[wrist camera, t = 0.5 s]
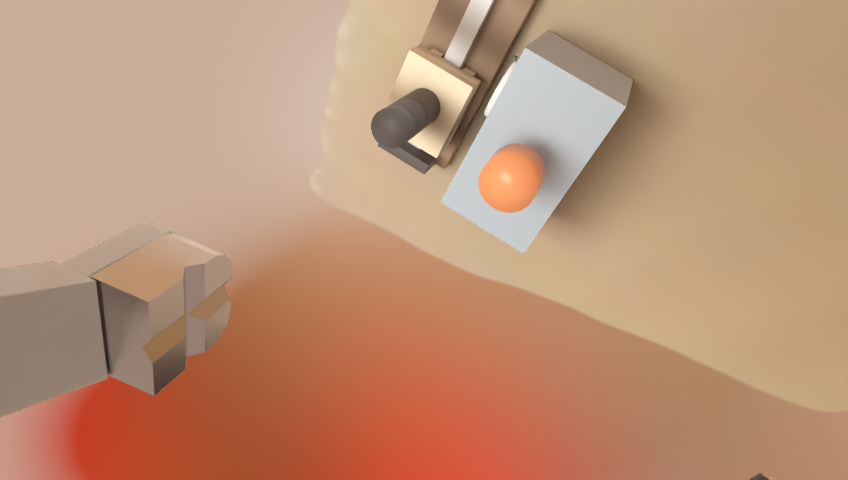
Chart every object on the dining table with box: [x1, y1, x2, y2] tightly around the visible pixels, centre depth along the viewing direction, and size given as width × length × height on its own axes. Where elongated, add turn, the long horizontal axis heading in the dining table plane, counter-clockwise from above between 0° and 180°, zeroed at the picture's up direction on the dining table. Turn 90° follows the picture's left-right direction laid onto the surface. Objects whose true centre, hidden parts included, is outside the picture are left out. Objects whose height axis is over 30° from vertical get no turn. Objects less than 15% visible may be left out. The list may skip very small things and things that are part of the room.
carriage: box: [371, 45, 481, 158], centre depth 47 cm, size 7×6×11 cm
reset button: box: [478, 143, 545, 213], centre depth 40 cm, size 4×4×3 cm
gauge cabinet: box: [441, 30, 633, 254], centre depth 47 cm, size 14×9×9 cm, turn 155°
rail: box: [378, 0, 536, 174], centre depth 47 cm, size 26×7×4 cm, turn 155°
